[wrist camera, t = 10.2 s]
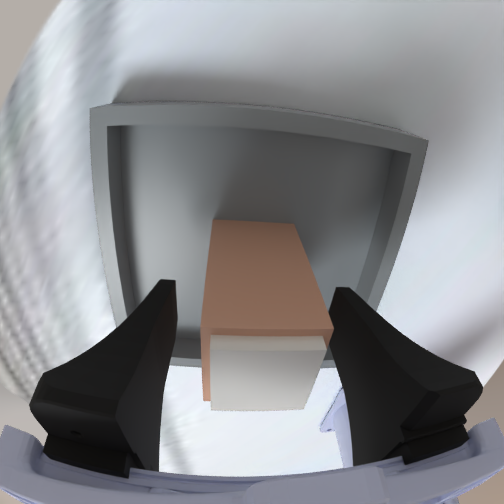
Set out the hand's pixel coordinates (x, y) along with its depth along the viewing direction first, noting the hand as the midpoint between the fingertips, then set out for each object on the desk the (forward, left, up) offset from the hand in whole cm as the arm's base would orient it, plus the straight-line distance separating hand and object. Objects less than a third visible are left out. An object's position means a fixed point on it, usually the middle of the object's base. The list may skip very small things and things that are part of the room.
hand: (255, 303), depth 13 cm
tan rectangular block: (0, 0, -4) cm, 4 cm away
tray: (0, 0, -5) cm, 5 cm away
